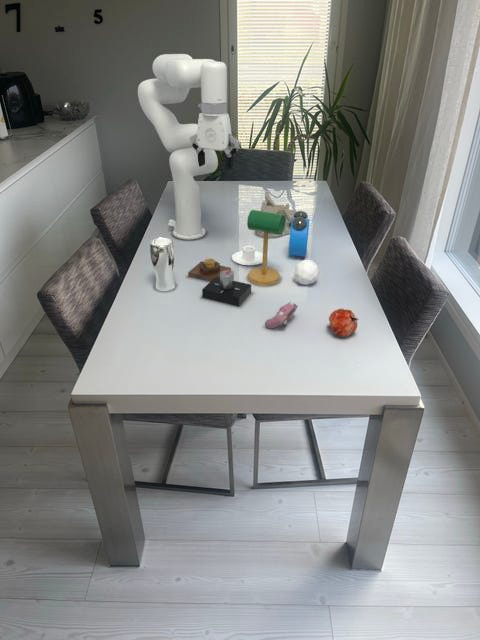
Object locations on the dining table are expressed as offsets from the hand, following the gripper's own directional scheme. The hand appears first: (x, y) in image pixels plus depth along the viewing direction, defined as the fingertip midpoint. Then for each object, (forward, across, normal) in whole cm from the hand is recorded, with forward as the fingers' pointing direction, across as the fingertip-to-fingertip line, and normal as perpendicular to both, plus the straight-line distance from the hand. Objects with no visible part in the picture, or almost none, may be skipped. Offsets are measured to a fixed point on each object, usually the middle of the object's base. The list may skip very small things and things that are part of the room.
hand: (215, 167), depth 146 cm
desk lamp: (+30, +22, -10) cm, 39 cm away
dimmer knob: (+27, +16, -25) cm, 40 cm away
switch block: (+30, +5, -15) cm, 34 cm away
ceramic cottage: (+31, +11, +30) cm, 44 cm away
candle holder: (+31, +12, +1) cm, 33 cm away
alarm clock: (+31, +26, +12) cm, 42 cm away
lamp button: (+27, +5, -15) cm, 31 cm away
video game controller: (+31, +36, -32) cm, 57 cm away
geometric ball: (+31, +35, -7) cm, 47 cm away
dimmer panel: (+30, +16, -25) cm, 42 cm away
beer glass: (+31, -4, -28) cm, 42 cm away
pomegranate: (+31, +52, -30) cm, 67 cm away
